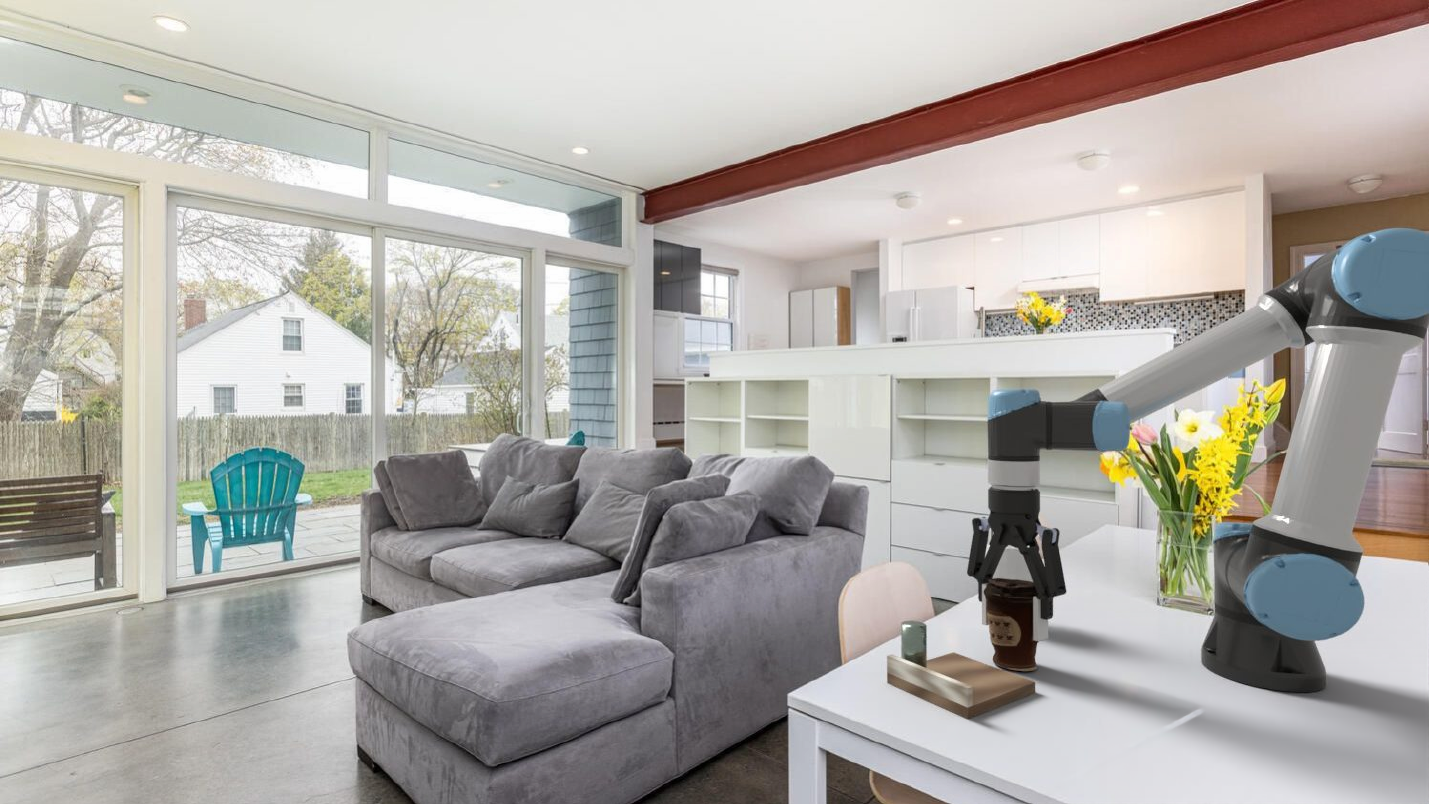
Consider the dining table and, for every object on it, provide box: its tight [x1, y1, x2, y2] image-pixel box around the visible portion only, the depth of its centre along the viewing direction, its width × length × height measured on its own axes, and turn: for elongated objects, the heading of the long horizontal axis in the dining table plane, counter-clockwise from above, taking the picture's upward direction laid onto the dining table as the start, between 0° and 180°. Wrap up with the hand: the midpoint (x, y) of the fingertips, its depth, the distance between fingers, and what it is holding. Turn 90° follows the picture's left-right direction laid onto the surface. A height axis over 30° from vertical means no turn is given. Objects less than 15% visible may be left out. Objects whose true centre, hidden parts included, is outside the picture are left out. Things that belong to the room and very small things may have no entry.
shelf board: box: [886, 652, 1036, 720], centre depth 101 cm, size 14×15×4 cm
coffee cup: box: [984, 578, 1040, 672], centre depth 109 cm, size 9×8×13 cm
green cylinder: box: [900, 620, 928, 668], centre depth 103 cm, size 4×4×7 cm
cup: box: [985, 537, 1033, 582], centre depth 129 cm, size 11×11×15 cm
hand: (1014, 630), depth 109 cm, fingers closed on coffee cup, 8 cm apart
